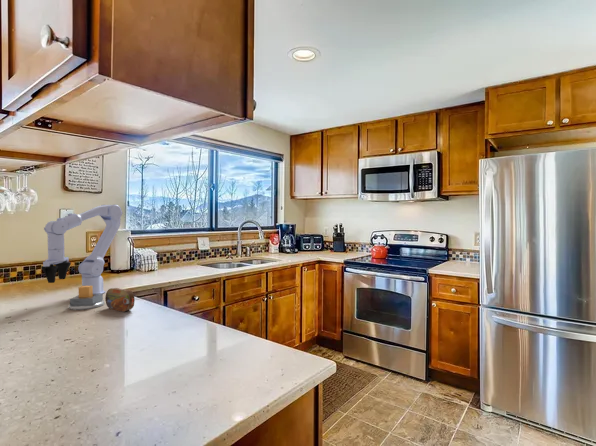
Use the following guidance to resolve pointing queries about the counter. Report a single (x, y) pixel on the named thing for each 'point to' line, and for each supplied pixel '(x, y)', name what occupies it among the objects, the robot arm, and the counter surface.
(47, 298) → the counter surface
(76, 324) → the counter surface
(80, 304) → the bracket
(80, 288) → the tan rectangular prism
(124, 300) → the tin
